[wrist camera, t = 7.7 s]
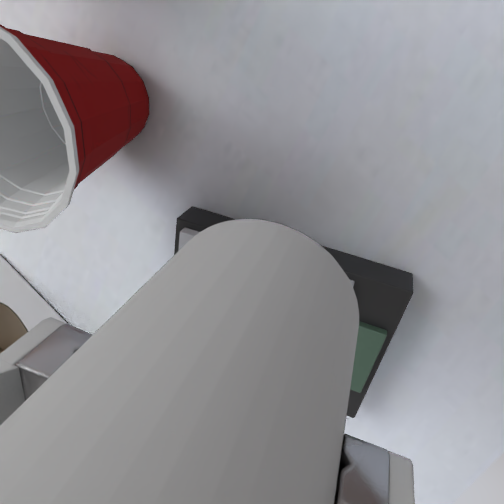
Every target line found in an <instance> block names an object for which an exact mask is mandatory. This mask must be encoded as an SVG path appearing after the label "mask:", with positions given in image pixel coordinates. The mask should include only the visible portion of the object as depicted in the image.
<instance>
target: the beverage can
mask: <svg viewBox="0 0 504 504" xmlns="http://www.w3.org/2000/svg"><path fill="white" fill-rule="evenodd" d="M358 329H359V308H358V302H357V298H356V295H355V292H354V289H353V287H352V284H351V282H350V280H349V278H348V277H347V275H346V274H345V272H344V271H343V269H342V268H341V267H340V265H339V264H338V263H337V261H336V260H335V259H334V258H333V256H332V255H331V254H330V253H329V252H328V251H327V250H325V249H324V248H323V247H322V246H321V245H319V244H318V243H317V242H316V241H314V240H313V239H311V238H310V237H308V236H306V235H304V234H303V233H301V232H299V231H297V230H295V229H292V228H290V227H287V226H285V225H282V224H279V223H275V222H271V221H266V220H259V219H237V220H230V221H225V222H221V223H218V224H215V225H213V226H210V227H208V228H206V229H205V230H203V231H201V232H199V233H198V234H197V235H195V236H194V237H193V238H192V239H191V240H189V241H188V242H187V243H186V244H185V245H184V246H183V247H182V248H181V249H180V250H179V251H178V252H177V253H176V254H175V255H174V256H173V257H172V258H171V259H170V260H169V261H168V262H167V263H166V264H165V265H164V266H163V267H162V268H161V269H160V270H159V271H158V272H157V273H156V274H155V275H154V276H153V277H152V278H151V279H150V280H149V281H148V282H146V283H145V284H144V285H143V286H142V287H141V288H140V289H139V290H138V291H137V292H136V293H135V294H134V295H133V296H132V297H131V298H130V299H129V300H128V301H127V302H126V303H125V304H124V305H123V306H122V307H121V308H120V309H119V310H118V311H117V312H116V313H115V314H114V315H113V316H112V317H111V318H110V319H109V320H108V321H107V322H106V323H105V324H104V325H103V326H102V327H100V328H99V329H98V330H97V331H96V332H95V333H94V334H93V335H92V336H91V337H90V338H89V339H88V340H87V341H86V342H85V343H84V344H83V345H82V346H81V347H80V348H79V349H78V350H77V351H76V352H75V353H74V354H73V355H72V356H71V357H70V358H69V359H68V360H67V361H66V362H65V363H64V364H63V365H62V366H61V367H60V368H59V369H58V370H57V371H56V372H54V373H53V374H52V375H51V376H50V377H49V378H48V379H47V380H46V381H45V382H44V383H43V384H42V385H41V386H40V387H39V388H38V389H37V390H36V391H35V392H34V393H33V394H32V395H31V396H30V397H29V398H28V399H27V400H26V401H25V402H24V403H23V404H22V405H21V406H20V407H19V408H18V409H17V410H16V411H15V412H14V413H13V414H12V415H11V416H10V417H8V418H7V419H6V420H5V421H4V422H3V423H2V424H1V425H0V504H334V502H335V495H336V487H337V480H338V473H339V466H340V459H341V451H342V444H343V437H344V430H345V423H346V415H347V408H348V401H349V394H350V386H351V379H352V372H353V365H354V358H355V350H356V343H357V336H358Z"/></svg>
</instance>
